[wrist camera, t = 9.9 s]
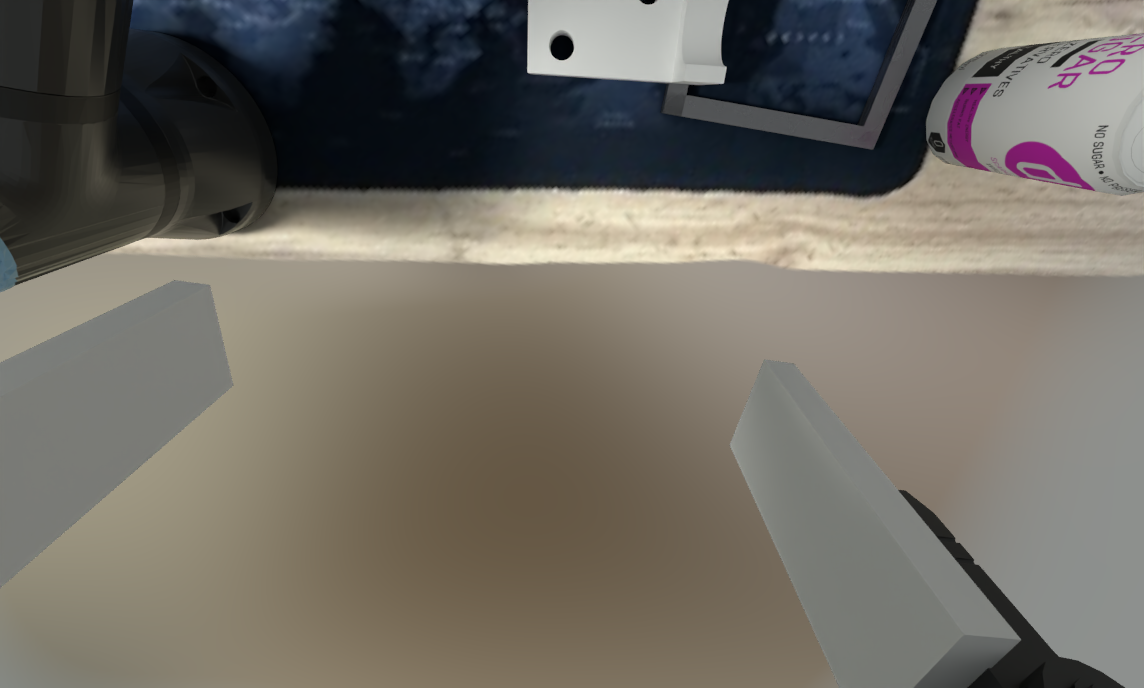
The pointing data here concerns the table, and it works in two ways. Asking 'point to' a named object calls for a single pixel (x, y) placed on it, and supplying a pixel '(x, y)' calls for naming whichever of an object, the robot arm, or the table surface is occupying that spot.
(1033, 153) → the supplement can
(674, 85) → the rails
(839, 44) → the table surface
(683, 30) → the bracket
